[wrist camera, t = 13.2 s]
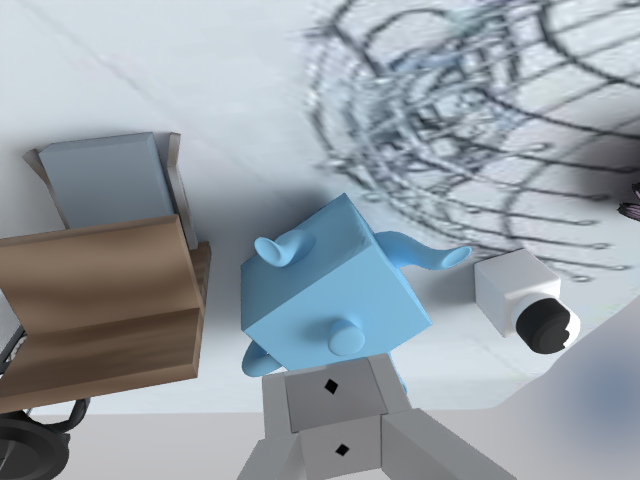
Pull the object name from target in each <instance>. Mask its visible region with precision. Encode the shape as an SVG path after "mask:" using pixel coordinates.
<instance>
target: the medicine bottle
mask: <svg viewBox="0 0 640 480" xmlns="http://www.w3.org/2000/svg"><path fill="white" fill-rule="evenodd" d="M474 271H475V293H476V304H477V305H478V307H479V308H480V309H481V310H482V312H483V313H484V314H485V315H486V317H487V318H488V319H489V320H490V322H491V323H492V324H493V326H494V327H495V328H496V329H497V331H498V332H499V333H500V334H501V336H502V337H504V338H505V337H509V336H512V335H516V334H519V336H520V337H521V338H522V339H523V340H524V342H525V343H526V344H527V345H528V346H529V347H530V349H531V350H532V351H534V352H536V353H539V354H552V353H555V352H558V351H560V350H562V349H564V348H566V347H567V346H568V345H570V344H571V343H572V342H573V341H574V339H575V338H576V337H577V335H578V333H579V330H580V320H579V318H578V317H577V315H575V314H574V313H573V312H572V311H571V310H570V309H569V308H568V307H567V306H566V305H565V304H564V303H562V302H561V301H560V300H559V291H560V278H559V277H558V276H557V275H556V274H555V273H554V272H552V271H551V270H550V269H549V268H548V267H547V266H545V265H544V264H543V263H542V262H541V261H540V260H538V259H537V258H536V257H535V256H534V255H533V254H531V253H530V252H529V251H528V250H527V249H521V250H517V251H514V252H511V253H507V254H504V255H501V256H497V257H494V258H491V259H487V260H484V261H480V262H477V263H475V264H474Z"/></svg>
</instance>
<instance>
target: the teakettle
mask: <svg viewBox="0 0 640 480" xmlns="http://www.w3.org/2000/svg"><path fill="white" fill-rule="evenodd" d="M254 247H255V249H256V251H257V253H258V254H256V255H255V256H253V257H252V258H251V259H249V260H248V261H246V262H245V263H244V264H242V265H241V330H242V331H243V332H244V333H246V334H247V335H248V336H249V337H250V338H251V339H253V340H252V342H251V344H250V345H249V347H248V349H247V351H246V353H245V356H244V358H243V361H242V370H243V372H244V373H245V374H246V375H248V376H250V377H259V376H263V375H265V374H268V373H270V372H272V371H274V370H276V369H278V368H280V367H282V366H284V367H285V368H286V369H287V370H288V371H291V370H298V369H304V368H310V367H316V366H322V365H325V364H330V363H335V362H340V361H345V360H350V359H355V358H360V357H366V356H372V355H377V354H382V353H387V354H388V355H389V356H390V358H391V360H392V357H391V354H390V351H391V350H393V349H394V348H396V347H397V346H399V345H401V344H402V343H404V342H405V341H407V340H409V339H410V338H412V337H414V336H415V335H417V334H418V333H420V332H421V331H423V330H425V329H426V328H428V327H429V326H431V325H432V324H433V323H432V322H431V320H430V318H429V317H428V315H427V313H426V312H425V310H424V308H423V307H422V305H421V303H420V302H419V300H418V298H417V297H416V295H415V293H414V292H413V290H412V289H411V287H410V285H409V284H408V282H407V280H406V279H405V277H404V275H403V274H402V272H401V270H400V269H399V268H400V267H403V266H405V265H418V266H420V267H423V268H425V269H429V270H443V269H447V268H450V267H453V266H455V265H457V264H459V263H460V262H462V261H463V260H464V259H466V258H467V257H468V256H469V255H470V253H471V251H472V249H471V248H470V247H468V246H463V247H458V248H454V249H449V250H435V249H431V248H429V247H427V246H424V245H423V244H421V243H419V242H418V241H416V240H414V239H413V238H411V237H409V236H407V235H405V234H402V233H399V232H393V231H387V232H380V233H376V234H374V232H373V231H372V230H371V228H370V227H369V225H368V224H367V223H366V221H365V220H364V219H363V217H362V216H361V214H360V213H359V212H358V210H357V209H356V208H355V206H354V205H353V203H352V202H351V201H350V199H349V198H348V197H347V195H346V194H345V193H343V194H342V195H341V196H339V197H338V198H336V199H335V200H333V201H332V202H330V203H329V204H328V205H326V206H325V207H323V208H321V209H320V210H319V211H318V212H316V213H315V214H313V215H312V216H310V217H309V218H308V219H306V220H305V221H303V222H302V223H300V224H299V225H298V226H296V227H295V228H293V229H292V230H290V231H288V232H286V233H284V234H283V235H281V236H280V237H278V238H277V239H276V240H275V241H274V242H273V241H272V240H269V239H267V238H264V237H259V238H257V239H256V240H255V241H254ZM267 353H268V354H267ZM266 354H267V355H266ZM392 363H393V360H392ZM393 365H394V363H393ZM394 367H395V366H394ZM395 370H396V368H395ZM396 372H397V370H396ZM397 374H398V372H397ZM398 376H399V374H398ZM399 379H400V381H401V383H402V386H403V388H404V390H405V393H406V395H407V388H406V386H405V384H404V382H403V381H402V379H401V378H400V376H399Z"/></svg>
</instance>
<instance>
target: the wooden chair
mask: <svg viewBox="0 0 640 480" xmlns="http://www.w3.org/2000/svg"><path fill="white" fill-rule="evenodd" d="M180 135H181V134H178V133H173V132H172V133H171V135H170V140H169V149H168V159H167V170H168V174H169V177H170V181H171V184H172V188H173V192H174V195H175V199H176V202H177V206H178V209H179V213H180V217H181V220H182V224H183V227H184V231H185V235H186V238H187V242H188V245H187V244H186V241H185V237H184V234H183V230H182V226H181V223H180V219H179V216H178V214H175V215H167V216H160V217H153V218H146V219H139V220H132V221H125V222H118V223H110V224H103V225H96V226H89V227H82V228H75V229H70V226H69V224H68V222H67V219H66V217H65V215H64V212H63V210H62V208H61V205H60V203H59V201H58V198H57V196H56V194H55V191H54V189H53V187H52V184H51V182H50V180H49V178H48V175H47V173H46V171H45V168H44V166H43V164H42V161H41V159H40V157H39V153H38V152H37V151H36V149H33V150H31V151H29V152H28V153H26V154H25V155H23V156H22V158H23V159H24V160H25V161H26V162H27V163H28V164H29V165H30V167H31V168H32V169H33V170H34V171H35V172H36V173H37V174H38V175H39V177H40V178H41V179H42V180H43V181H44V182H45V183H46V185H47V187H48V189H49V192H50V194H51V196H52V198H53V201H54V203H55V205H56V207H57V210H58V212H59V214H60V216H61V219H62V221H63V223H64V225H65V228H66V230H61V231H53V232H46V233H39V234H32V235H25V236H18V237H11V238H4V239H0V288H1V290H2V292H3V294H4V295H5V297H6V299H7V300H8V302H9V304H10V306H11V307H12V309H13V311H14V312H15V314H16V316H17V318H18V319H19V321H20V323H21V324H22V326H23V328H24V330H25V331H26V333H27V335H28V337H27V338H26V340H25V341H24V343H23V344H22V346H21V348H20V349H19V351H18V352H17V354H16V355H15V357H14V359H13V360H12V362H11V363H10V365H9V366H8V368H7V370H6V371H5V373H4V374H3V376H2V377H1V379H0V414H2V413H7V412H12V411H18V410H23V409H29V408H34V407H40V406H45V405H51V404H56V403H62V402H67V401H73V400H78V399H84V398H89V397H95V396H100V395H106V394H111V393H116V392H122V391H127V390H133V389H138V388H144V387H149V386H155V385H160V384H166V383H171V382H177V381H182V380H188V379H193V378H197V375H198V367H199V358H200V349H201V340H202V331H203V322H204V313H205V304H206V295H207V287H208V278H209V269H210V260H211V250H210V246H209V242H203V243H198V240H197V236H196V233H195V229H194V225H193V221H192V217H191V214H190V210H189V206H188V202H187V199H186V195H185V191H184V187H183V183H182V180H181V176H180V172H179V168H178V164H177V160H178V152H179V143H180Z"/></svg>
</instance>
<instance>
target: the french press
mask: <svg viewBox="0 0 640 480" xmlns="http://www.w3.org/2000/svg"><path fill="white" fill-rule="evenodd" d="M27 337H28V335H27V333H26V331H25V330H24V328H23V326H22V324H21V325H20V326H19V328H18V329H17V331H16V332H15V334H14V335H13V337H12V338H11V339H10V341H9V342H8V344H7V345H6V347H5V348H4V350H3V351H2V353H1V354H0V375H2V374H4V373H5V371H6V370H7V368H8V366H9V365H10V363H11V362H12V360H13V359H14V357H15V355H16V354H17V352H18V351H19V349H20V348H21V346H22V344H23V343H24V341H25V340H26V338H27ZM7 359H8V360H9V361H8V362H6V360H7ZM90 398H91V397H89V398H84V399H78V400H76V403H75V405H74V408H73V410H72V413H71V415H70V417H69V420H66V421H63V422H60V423H55V424H41V423H39V422H36V421H34V420H32V419H31V418H30V417H29V415H30V413H31V411H32V409H33V408H29V409H27V411H26V413H25V412H24V411H23V410H18V411H12V412H7V413H2V414H0V480H51V479H53V478H54V477H56V476H57V475H58V474H60V473H61V471H62V470H63V469H64V468H65V466H66V464H67V461H68V458H69V449H68V443H69V441H70V434H67V433H66V434H65V432H67V431H69V430H71V429H73V428H74V427H75V426H77V425H78V424H79V423H80V422H81V421H82V419H83V418H84V416H85V413H86V411H87V408H88V406H89V403H90ZM62 433H63V434H62Z"/></svg>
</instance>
